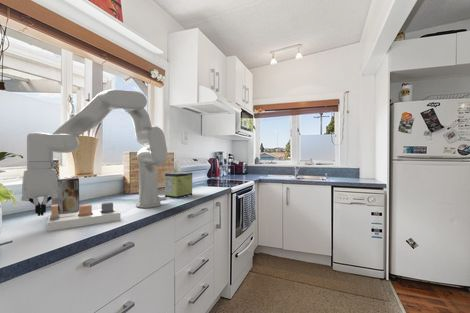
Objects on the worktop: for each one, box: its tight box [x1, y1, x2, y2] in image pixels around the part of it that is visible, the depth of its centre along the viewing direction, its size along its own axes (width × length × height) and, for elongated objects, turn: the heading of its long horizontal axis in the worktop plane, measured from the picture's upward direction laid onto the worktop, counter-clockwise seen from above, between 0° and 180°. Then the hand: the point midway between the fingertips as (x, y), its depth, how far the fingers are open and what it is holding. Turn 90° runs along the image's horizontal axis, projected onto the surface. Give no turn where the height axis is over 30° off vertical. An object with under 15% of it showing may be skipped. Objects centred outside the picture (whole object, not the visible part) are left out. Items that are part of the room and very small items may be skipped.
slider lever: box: [49, 204, 60, 220], centre depth 89 cm, size 3×4×5 cm
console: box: [47, 207, 121, 232], centre depth 96 cm, size 24×12×3 cm, turn 127°
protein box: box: [164, 171, 193, 199], centre depth 154 cm, size 10×16×16 cm
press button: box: [78, 204, 93, 217], centre depth 96 cm, size 4×4×4 cm
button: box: [101, 202, 114, 213], centre depth 100 cm, size 4×4×4 cm
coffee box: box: [51, 177, 80, 214], centre depth 110 cm, size 9×6×16 cm
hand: (40, 214), depth 87 cm, fingers closed
